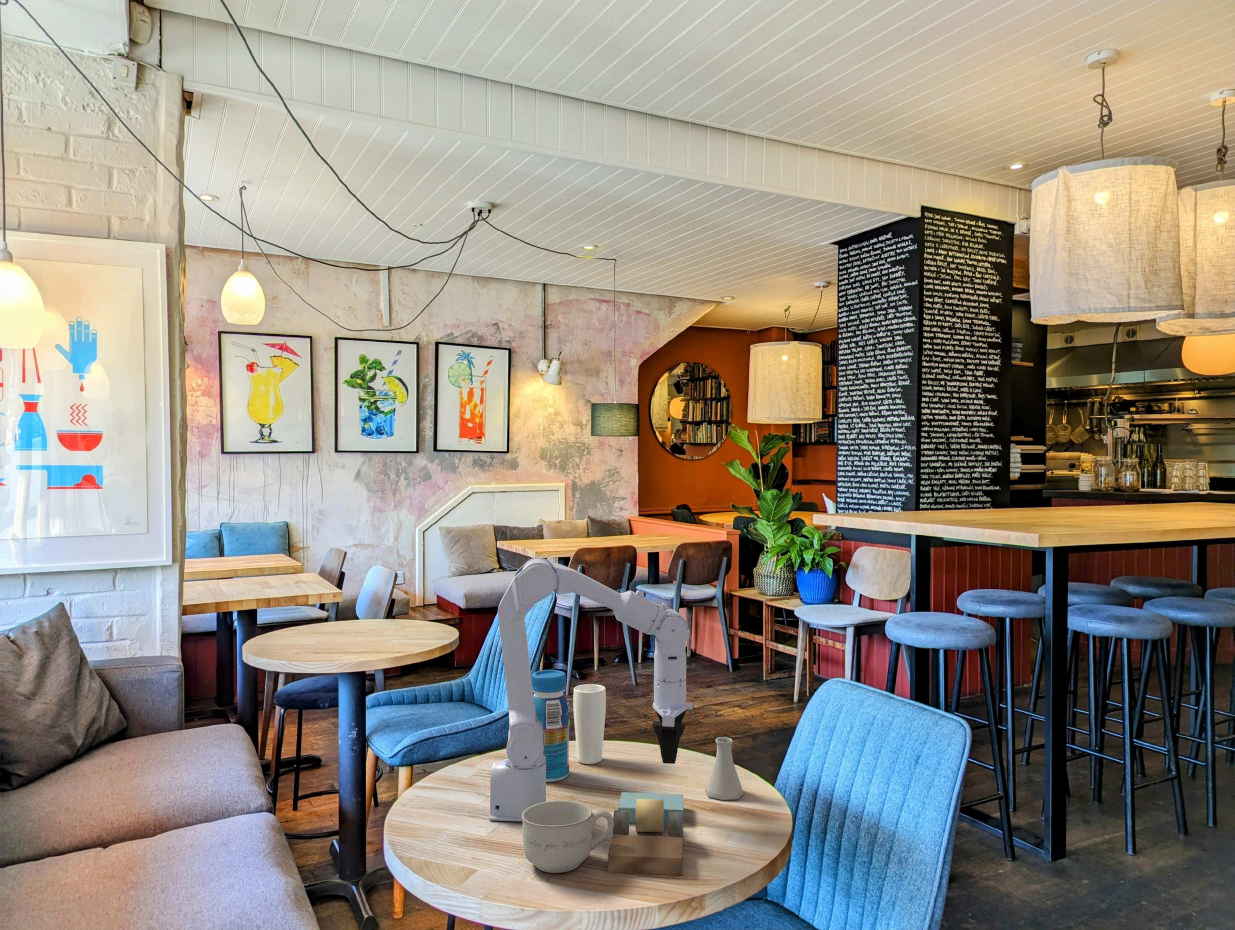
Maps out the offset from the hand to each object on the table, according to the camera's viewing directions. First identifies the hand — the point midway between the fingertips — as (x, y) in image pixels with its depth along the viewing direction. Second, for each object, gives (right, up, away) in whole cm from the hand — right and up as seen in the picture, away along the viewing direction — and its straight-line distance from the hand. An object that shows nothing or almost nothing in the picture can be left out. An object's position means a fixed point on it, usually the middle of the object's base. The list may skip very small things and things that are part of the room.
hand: (669, 755), depth 144 cm
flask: (+11, -10, +6) cm, 15 cm away
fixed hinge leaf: (-5, -9, -18) cm, 21 cm away
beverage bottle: (-23, -10, +15) cm, 29 cm away
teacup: (-17, -9, -21) cm, 29 cm away
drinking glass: (-15, -10, +24) cm, 30 cm away
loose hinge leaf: (-4, -9, -6) cm, 11 cm away
